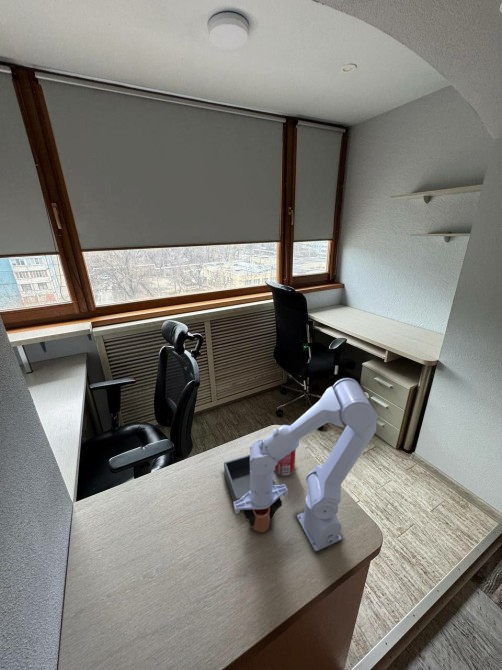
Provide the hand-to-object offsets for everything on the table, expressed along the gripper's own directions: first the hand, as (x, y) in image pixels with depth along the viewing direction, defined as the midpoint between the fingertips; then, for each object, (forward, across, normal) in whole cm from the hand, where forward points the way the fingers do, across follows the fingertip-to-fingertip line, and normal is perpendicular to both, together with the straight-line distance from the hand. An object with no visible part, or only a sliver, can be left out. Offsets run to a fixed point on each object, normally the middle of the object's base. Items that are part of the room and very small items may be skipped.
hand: (260, 519), depth 73 cm
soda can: (+2, -14, -14) cm, 20 cm away
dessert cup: (+1, 0, 0) cm, 1 cm away
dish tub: (+1, -1, -12) cm, 12 cm away
